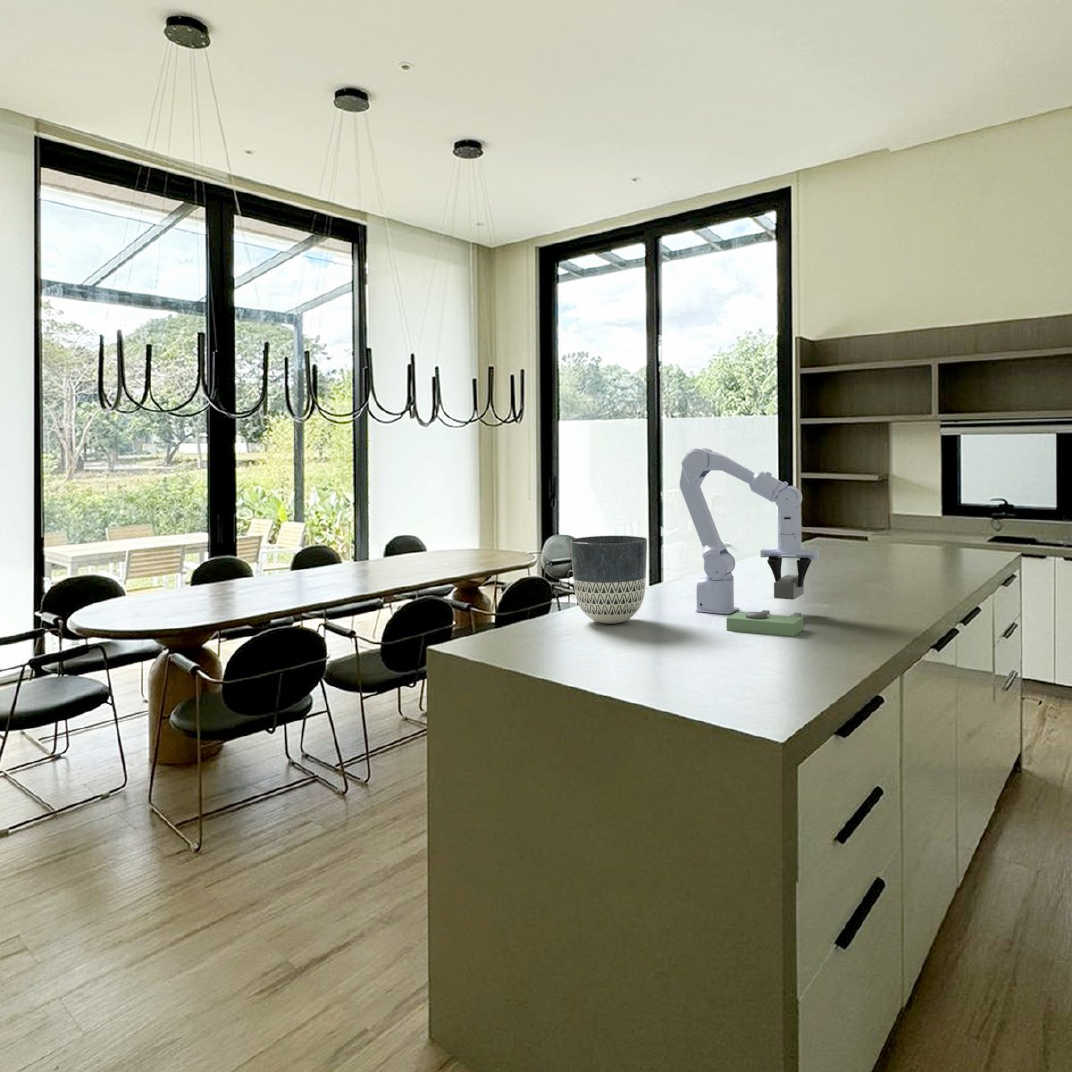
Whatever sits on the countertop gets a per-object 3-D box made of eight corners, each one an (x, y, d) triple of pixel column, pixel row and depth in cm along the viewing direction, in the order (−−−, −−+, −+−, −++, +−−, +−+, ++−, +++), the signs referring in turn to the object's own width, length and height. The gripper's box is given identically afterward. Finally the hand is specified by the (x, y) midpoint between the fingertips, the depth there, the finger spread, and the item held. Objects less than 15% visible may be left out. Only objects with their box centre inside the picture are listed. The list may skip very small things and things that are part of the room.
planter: (572, 615, 223) (569, 536, 221) (644, 613, 222) (643, 534, 220) (573, 631, 204) (570, 544, 201) (652, 629, 203) (650, 542, 201)
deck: (726, 630, 199) (726, 614, 199) (751, 616, 214) (751, 602, 214) (793, 636, 190) (793, 620, 190) (814, 622, 205) (814, 606, 205)
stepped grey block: (774, 598, 211) (773, 578, 211) (784, 592, 219) (784, 573, 218) (793, 599, 209) (793, 580, 208) (803, 593, 216) (803, 574, 215)
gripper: (756, 534, 213) (756, 586, 214) (813, 536, 205) (813, 590, 206) (765, 531, 219) (765, 582, 220) (821, 533, 211) (821, 585, 212)
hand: (789, 586), depth 214 cm, fingers closed on stepped grey block, 5 cm apart
